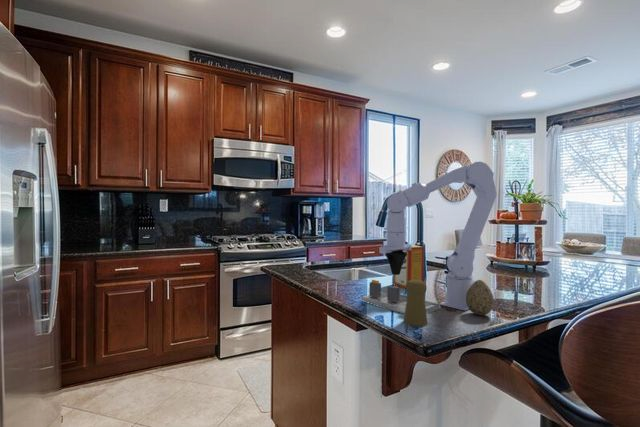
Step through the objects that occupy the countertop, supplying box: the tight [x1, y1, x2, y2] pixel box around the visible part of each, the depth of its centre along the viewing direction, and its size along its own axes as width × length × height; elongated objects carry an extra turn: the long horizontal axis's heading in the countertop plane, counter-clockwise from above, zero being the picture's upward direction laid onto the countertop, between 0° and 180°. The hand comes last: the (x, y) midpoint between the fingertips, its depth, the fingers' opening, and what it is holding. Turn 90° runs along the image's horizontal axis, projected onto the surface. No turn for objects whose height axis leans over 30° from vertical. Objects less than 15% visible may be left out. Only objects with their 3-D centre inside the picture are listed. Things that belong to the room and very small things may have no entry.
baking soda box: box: [392, 244, 425, 290], centre depth 129 cm, size 10×6×16 cm
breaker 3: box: [368, 279, 382, 298], centre depth 107 cm, size 2×3×5 cm, turn 42°
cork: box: [403, 280, 428, 327], centre depth 88 cm, size 6×6×11 cm
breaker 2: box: [386, 285, 401, 302], centre depth 102 cm, size 2×3×4 cm, turn 42°
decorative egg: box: [466, 279, 495, 316], centre depth 95 cm, size 7×7×10 cm
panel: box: [361, 290, 440, 315], centre depth 104 cm, size 12×20×2 cm, turn 42°
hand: (395, 274), depth 108 cm, fingers closed
